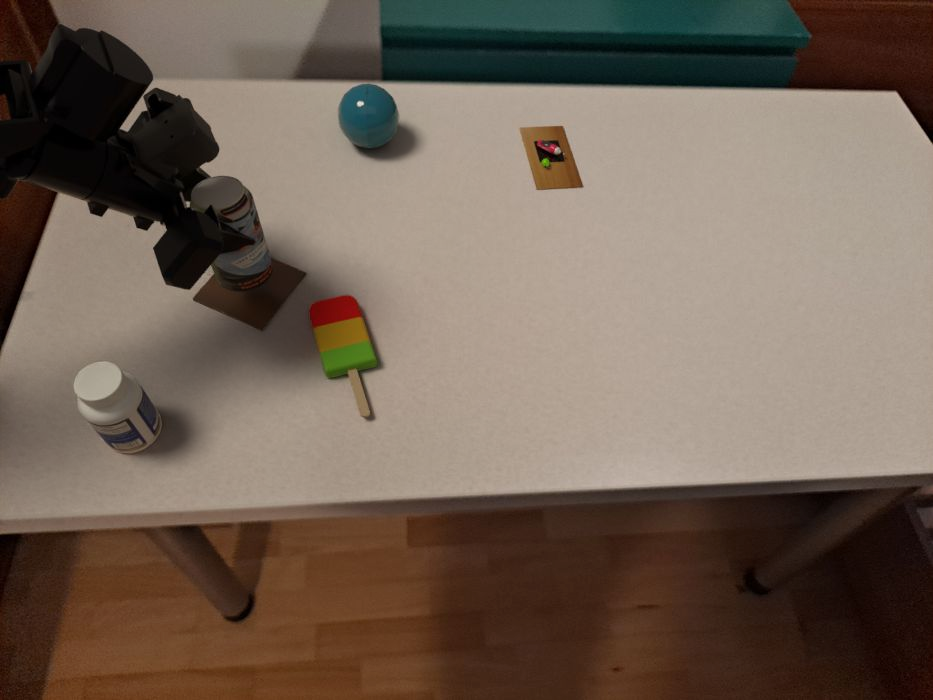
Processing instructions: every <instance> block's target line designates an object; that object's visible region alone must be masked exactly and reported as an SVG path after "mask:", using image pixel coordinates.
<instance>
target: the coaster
mask: <svg viewBox="0 0 933 700" xmlns="http://www.w3.org/2000/svg"><path fill="white" fill-rule="evenodd" d="M271 260H272V264H273V272H272V274H271V276H270V278H269V279H268V280H267V281H266V282H265V283H264V284H263V285H261V286H259V287H257V288H255V289H252V290H249V291H242V292H237V291H231V290H227V289H225V288H223V287H222V286H221V285H220V284H219V283H218V282H217V280H216V277H215V275H214V273H213V274H212V275H211V276H210V277H209V279H208V280H207V281H206V282H205V283H204V284H203V285H202V287H201V288H200V289H199V290H198V291H197V293H195V294H194V296H193V297H192V301H194V302H195V303H197V304H198V303H199V304H201V305H203V306H205V307H207V308H209V309H211V310H214V311H216V312H219V313H220V314H223V315H225V316H227V317H230V318H231V319H234V320H237V321H239V322H242V323H243V324H247V326H250V327H251V328H254V329H257V330H259V331H261V332H263V331H264V330H265V328H266V327H267V326H268V325H269V323H270V322H271V321H272V320H273V318H274V317H275V315H276V314H277V313H278V311H279V310H280V309H281V308H282V306H284V304H285V303H286V301H287V300H288V299H289V297H291V295H292V294H293V292H294V291H295V289H297V287H298V285H300V284H301V282H302V280H303V279H304V278H305V276H306V275H307V272H306V271H304V270H302V269H299V268H297V267H295V266H292V265H289V264H288V263H284V262H283V261H280V260H278V259H275V258H273V257H271Z"/></svg>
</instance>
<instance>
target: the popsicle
mask: <svg viewBox="0 0 933 700" xmlns="http://www.w3.org/2000/svg"><path fill="white" fill-rule="evenodd" d="M308 316H309V322H310V324H311V325H310V326H311V328H312V331H313V335H314V338H315V342H316V347H317V350H318V353H319V357H320V361H321V365H322V367H323V372H324V375H325V376H326V378H327V379H333V378H335V377H340V376H343V375H348V378H349V381H350V385H351V388H352V391H353V394H354V398H355V402H356V405H357V409H358V412H359V414H360V416H361V417H362V418H368V417H369V416H370V414H371V411H370V408H369V404H368V401H367V398H366V395H365V392H364V388H363V385H362V381H361V379H360V376H359V375H360V374H359V372H360V371H363V370H367V369H371V368H376V367H378V361H377V356H376V353H375V351H374V348H373V345H372V342H371V338H370V336H369V332H368V330H367V326H366V323H365V321H364V320H365V319H364V317H363V315H362V311H361V308H360V305H359V303H358V301H357V299H356V298H355V297H354V296H353V295H350V294H345V295H344V294H343V295H338V296H333V297H330V298H327V299H321V300H317V301H315V302H313V303H311V304H310V306H309V308H308Z"/></svg>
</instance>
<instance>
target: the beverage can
mask: <svg viewBox="0 0 933 700" xmlns="http://www.w3.org/2000/svg"><path fill="white" fill-rule="evenodd" d="M188 205H189V206H188V207H191V208H193V209H194V210H196V211H199V212H202V213H204V212H205V211H206V210H207V208H208V207H209V206H210V205H212V206H213V208H214V211H215V213H216V216H217V218H218V221H220V222H223V223H225V224H227V225H229V226H231V227H232V228H234V229H235V230H237V231H239V232H240V233H242V234H244V235H246V236H248V237H251V238H253V239H255V241H256V242H255V244H254V245H248V246H245V247H243V248H241V249H240V250H239V251H234V252H228V253H223V254H220V255H219V256H218V257H217V258H216V259H215V261H214V262H213V263H212V264H211V265H210V267H211V269H212V272H213V274H214V275H215V277H216V280H217V282H218V283H219V284H220V285H221V286H222V287H223V288H225V289H227V290H231V291H237V292H242V291H249V290H252V289H255V288H257V287H259V286H261V285H263V284H264V283H265V282H266V281H267V280H268V279H269V278H270V276H271V274H272V272H273V264H272V260H271V258H272V257H271V255H270V250H269V247H268V243H267V241H266V236H265V233H264V230H263V227H262V223H261V219H260V216H259V213H258V210H257V206H256V202H255V200H254V197H253V194H252V192H251V191H250V189H249V188H248V187H246V186H245V185H244V184H243V183H242V181H240V180H239V179H238V178H237V177H234V176H230V175H215V176H211V177H210V178H207V179H205V180H203V181H201V182H200V183H198V184H197V185H196V186H195V187H194V188H193V190H192V193H191V201H190V202H189V204H188Z"/></svg>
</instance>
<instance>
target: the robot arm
mask: <svg viewBox="0 0 933 700" xmlns="http://www.w3.org/2000/svg"><path fill="white" fill-rule="evenodd" d="M153 81H154V73H153V71H152V70H151V69H150V67H149V65H148V63H146V61H145V60H144V59H143V58H142V57H141V56H140V55H139V54H138V53H137V52H136V51H134V50H133V48H131V47H130V46H129V45H127V44H126V43H124V42H123V41H121V40H120V39H118V38H117V37H115V36H114V35H112V34H110V33H108V32H107V31H104V30H102V29H101V30H99V31H98V30H95V29H91V28H88V27H80V28H77V29H76V30H74V29H72V28H70V27H69V26H66V25H64V24H62V23H59V24H56V26H55V28H54V29H53V31H52V33H51V35H50V37H49V40H48V44H47V47H46V49H45V51H44V53H43V54H42V56H41V57H40V59H39V61H38V62H37V64H36V66H35V68H34V69H33V70H32V67H31V63H30V61H28V60H26V59H14V60H13V59H11V60H0V97H1V96H3V95H4V96H5V100H6V105H7V109H8V114H9V118H10V119H1V118H0V200H6V199H8V198H9V196H10V195H11V194H12V192H13V190H14V188H16V185H17V184H18V182H19V181H21V182H24V183H28V184H31V185H34V186H37V187H39V188H43V189H46V190H49V191H53V192H56V193H59V194H62V195H65V196H68V197H71V198H74V199H77V200H81V201H84V202H86V203H87V204H86V205H87V208H88V211H89V214H91V215H94V216H97V217H100V218H103V216H104V215H105V214H106V212H107V211H108V210H111V211H115V212H116V213H117V212H118V213H120V214H124V215H127V216H130V217H132V218H133V220H134V224H135V229H139V230H142V231H145V232H148V231H149V229H150V228H151V227H152V225H153V224H154V223H155V222H156V223H159V225H160V226H162V227H165V229H166V230H165V232H164V233H163V234H162V235H161V236H160V238H159V240H157V241H156V243H155V244H154V246H153V247H152V250H153V253H154V255H155V259H156V262H157V265H158V268H159V270H160V274H161V276H162V277H161V278H162V279H163V281H164V284H165V286H169V287H173V288H178V289H181V290H187V291H190V290H191V289H192V288H193V287H194V286H195V285H196V283H197V282H198V281H199V280H200V279H201V278H202V276H203V275H204V274H205V273H206V271H208V269H209V268H210V267H211V264H212V263H213V262H214V261H215V259H216V258H217V257H218V256H219V255H220V254H223V253H228V252H234V251H239V250H240V249H241V248H243V247H245V246H248V245H254V244H255V242H256V241H255V239H253V238H251V237H248V236H246V235H244V234H242V233H240V232H239V231H237V230H235V229H234V228H232V227H231V226H229V225H227V224H225V223H223V222H220V221H218V218H217V216H216V213H215V211H214V208H213V206H212V205H210V206H209V207H208V208H207V210H206V211H205V212H204V213H202V212H199V211H196V210H194V209H193V208H191V207H189V206H188V205H187V203H190V201H191V193H192V190H193V188H194V187H195V186H196V185H197V184H198V183H200V182H201V181H203V180H205V179H207V178H210V177H212V176H211V175H210V174H208V172H206V171H205V170H204V169H203V168H202V167H201V166H203V165H204V164H206V163H207V164H208V163H211V162H212V161H215V159H216V158H217V157H218V156H219V153H220V151H221V149H220V145H219V143H218V142H217V140H216V138H215V135H214V133H213V131H212V127H211V125H210V124H209V122H207V121H206V120H205V119H204V118H203V117H202V116H201V115H200V114H199V112H197V111H196V109H195V108H194V106H193V104H192V101H191V100H190V98H188V97H182V96H181V95H180V94H178V95H176V94H174V93H172V92H170V91H167V90H164V89H162V88H159V87H154V88H152V89H151V90H149V91H148V92H146V91H147V89H148V88H149V87H150V86H151V84H152V83H153ZM141 98H143V101H144V104H145V107H146V110H142V111H141V112H140V113H139V115H138V116H137V118H136V119H135V121H134V122H133V123H132V125H131V127H130V128H129V129H128V131H126V130H124V129H122V128H121V127H122V126H123V124H125V121H127V119H128V118H129V116H130V114H131V113H132V112H133V110H134V109H135V107H136V106H137V105H138V103H139V101H140V100H141Z"/></svg>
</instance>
